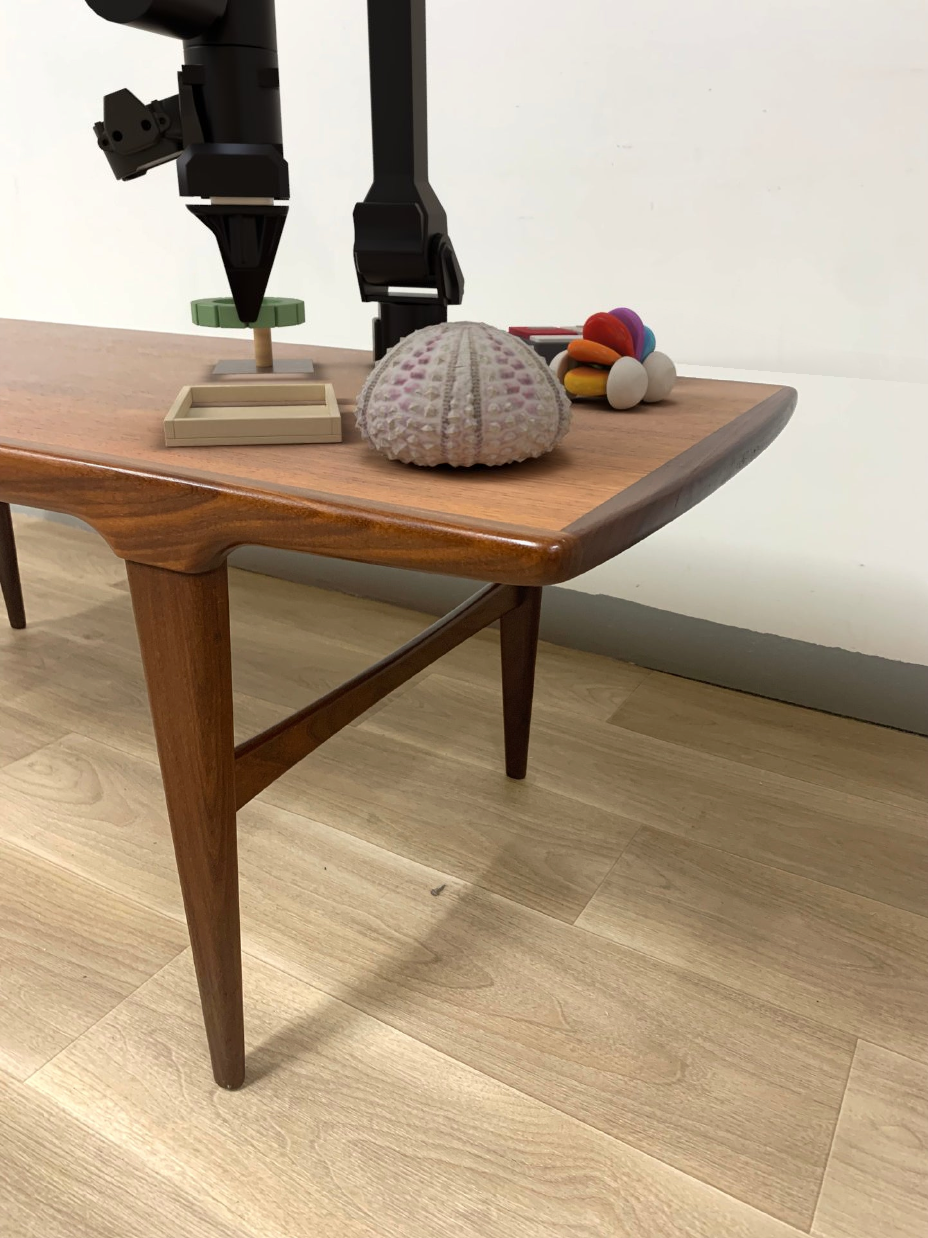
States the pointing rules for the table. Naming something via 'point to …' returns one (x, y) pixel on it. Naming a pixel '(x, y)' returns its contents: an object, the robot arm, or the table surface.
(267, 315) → the ring
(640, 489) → the table surface
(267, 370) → the peg stand
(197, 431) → the tray
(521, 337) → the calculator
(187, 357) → the table surface
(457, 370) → the sea urchin shell
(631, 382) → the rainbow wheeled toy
